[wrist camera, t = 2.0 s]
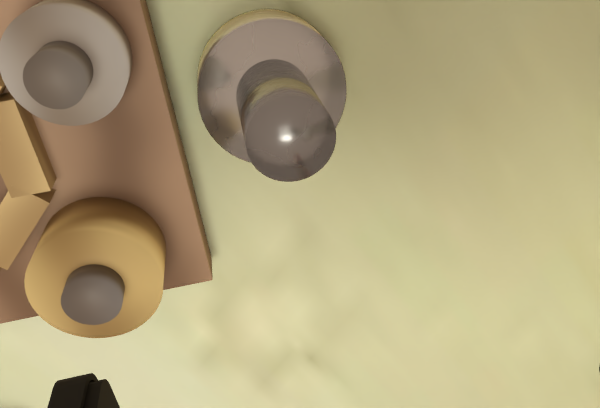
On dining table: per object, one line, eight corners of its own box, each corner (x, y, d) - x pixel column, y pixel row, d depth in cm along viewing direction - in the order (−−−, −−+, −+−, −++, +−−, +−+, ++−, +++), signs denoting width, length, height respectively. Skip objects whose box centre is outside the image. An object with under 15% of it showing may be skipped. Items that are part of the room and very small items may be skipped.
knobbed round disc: (327, -3, 24) (374, 32, 18) (340, 131, 28) (384, 201, 21) (182, 21, 24) (178, 66, 17) (213, 155, 27) (219, 234, 21)
